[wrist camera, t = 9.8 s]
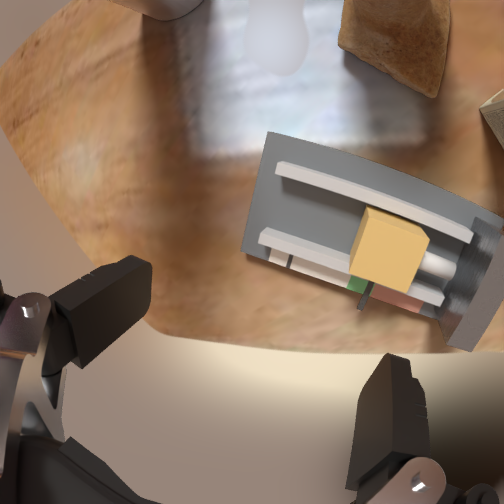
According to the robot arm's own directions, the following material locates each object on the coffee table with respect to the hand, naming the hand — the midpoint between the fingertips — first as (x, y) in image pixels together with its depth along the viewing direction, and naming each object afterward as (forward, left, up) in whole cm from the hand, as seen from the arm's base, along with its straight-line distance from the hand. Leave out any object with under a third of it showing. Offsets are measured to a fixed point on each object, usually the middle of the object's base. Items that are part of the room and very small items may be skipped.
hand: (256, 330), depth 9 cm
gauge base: (+5, -1, -21) cm, 21 cm away
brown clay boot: (+1, +20, -21) cm, 29 cm away
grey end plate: (+15, -1, -19) cm, 25 cm away
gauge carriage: (+8, -3, -19) cm, 21 cm away
